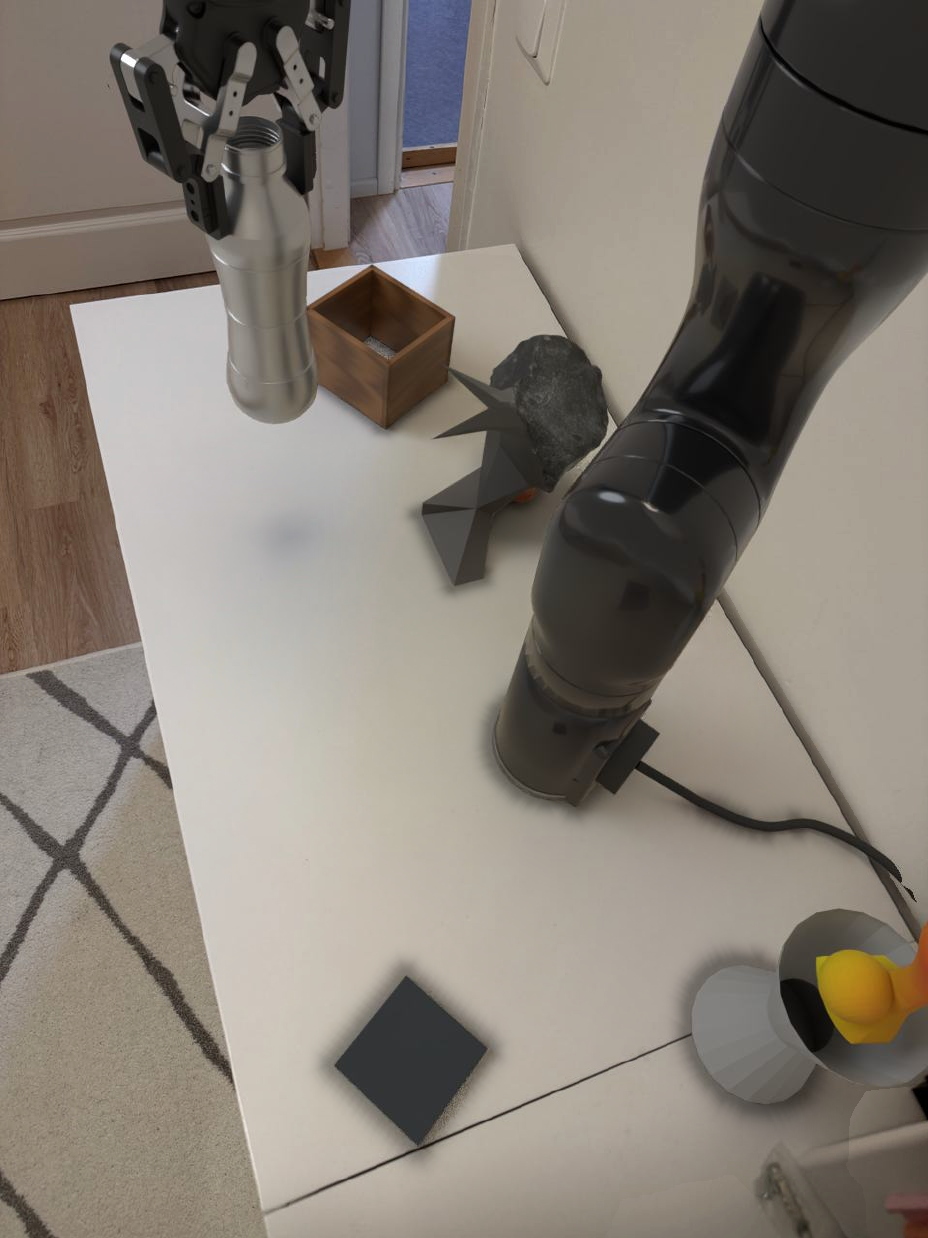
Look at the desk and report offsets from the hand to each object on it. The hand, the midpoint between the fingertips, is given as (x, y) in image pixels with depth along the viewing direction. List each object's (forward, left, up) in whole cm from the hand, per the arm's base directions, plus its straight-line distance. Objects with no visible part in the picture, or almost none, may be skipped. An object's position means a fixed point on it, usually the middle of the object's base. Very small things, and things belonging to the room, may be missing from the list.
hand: (256, 207), depth 52 cm
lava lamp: (-53, +9, -31) cm, 62 cm away
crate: (+7, -20, -31) cm, 38 cm away
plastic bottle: (0, 0, -16) cm, 16 cm away
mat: (-36, +25, -31) cm, 53 cm away
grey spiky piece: (-12, -16, -31) cm, 37 cm away
